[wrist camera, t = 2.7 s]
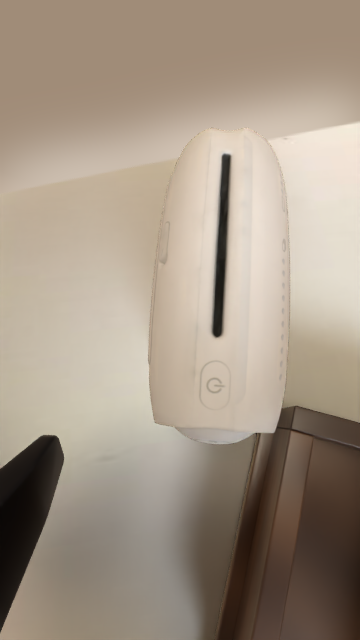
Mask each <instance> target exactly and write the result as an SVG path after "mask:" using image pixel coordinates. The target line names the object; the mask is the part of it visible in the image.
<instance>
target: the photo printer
mask: <svg viewBox="0 0 360 640" xmlns="http://www.w3.org/2000/svg"><path fill="white" fill-rule="evenodd" d="M289 321H290V251H289V226H288V211H287V199H286V190H285V184H284V179H283V174H282V171H281V167H280V165H279V162H278V159H277V157H276V154H275V152H274V150H273V148H272V146H271V145H270V144H269V143H268V141H267V140H266V139H265V138H264V137H262V136H261V135H259V134H258V133H257V132H255V131H252V130H251V129H248V128H241V129H238V130H234V131H224V130H219V129H215V128H210V129H207V130H204V131H203V132H201V133H199V134H198V135H197V136H195V137H194V138H193V139H192V140H191V141H190V142H189V143H188V144H187V145H186V147H185V148H184V150H183V151H182V154H181V155H180V157H179V159H178V161H177V163H176V166H175V168H174V171H173V173H172V175H171V177H170V180H169V184H168V187H167V192H166V197H165V202H164V207H163V212H162V219H161V224H160V231H159V238H158V245H157V253H156V261H155V270H154V279H153V289H152V300H151V313H150V328H149V349H148V363H149V385H150V396H151V404H152V410H153V416H154V420H155V423H157V424H160V425H166V426H172V427H175V428H176V429H177V430H178V431H179V432H180V433H182V434H183V435H185V436H187V437H188V438H190V439H193V440H195V441H199V442H203V443H209V444H231V443H236V442H239V441H241V440H243V439H246V438H247V437H249V436H251V435H252V434H254V433H274V432H275V430H276V427H277V423H278V420H279V417H280V413H281V408H282V404H283V399H284V393H285V385H286V373H287V360H288V344H289Z"/></svg>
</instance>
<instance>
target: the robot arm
mask: <svg viewBox="0 0 360 640" xmlns="http://www.w3.org/2000/svg"><path fill="white" fill-rule="evenodd" d="M63 463H64V454H63V451H62V448H61V444H60V441H59V438H58V437H57V436H55V435H43V436H41V437H39V438H38V439H37V440H36V441H34V442H33V443H32V444H31V445H29V446H28V447H27V448H26V449H24V450H23V451H22V452H21V453H19V454H18V455H17V456H16V457H15V458H13V459H12V460H11V461H10V462H8V463H7V464H6V465H5V466H3V467H2V468H1V469H0V632H1V630H2V627H3V625H4V622H5V620H6V617H7V615H8V613H9V610H10V608H11V605H12V603H13V600H14V598H15V595H16V593H17V591H18V588H19V586H20V583H21V581H22V578H23V576H24V573H25V571H26V569H27V566H28V564H29V561H30V559H31V556H32V554H33V551H34V549H35V547H36V544H37V542H38V539H39V537H40V534H41V532H42V529H43V527H44V524H45V522H46V519H47V516H48V513H49V510H50V507H51V503H52V500H53V497H54V493H55V490H56V486H57V483H58V480H59V476H60V473H61V470H62V466H63Z"/></svg>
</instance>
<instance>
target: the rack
mask: <svg viewBox="0 0 360 640" xmlns="http://www.w3.org/2000/svg"><path fill="white" fill-rule="evenodd" d="M214 640H360V423H358V422H354V421H351V420H347V419H343V418H340V417H336V416H332V415H329V414H325V413H321V412H318V411H314V410H310V409H306V408H303V407H299V406H292V407H286V408H281V413H280V417H279V420H278V423H277V427H276V430H275V432H274V433H257V438H256V443H255V447H254V452H253V457H252V462H251V466H250V471H249V476H248V481H247V485H246V490H245V495H244V500H243V504H242V509H241V514H240V519H239V523H238V528H237V533H236V538H235V542H234V547H233V552H232V557H231V561H230V566H229V571H228V576H227V580H226V585H225V590H224V595H223V599H222V604H221V609H220V614H219V618H218V623H217V628H216V633H215V637H214Z"/></svg>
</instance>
